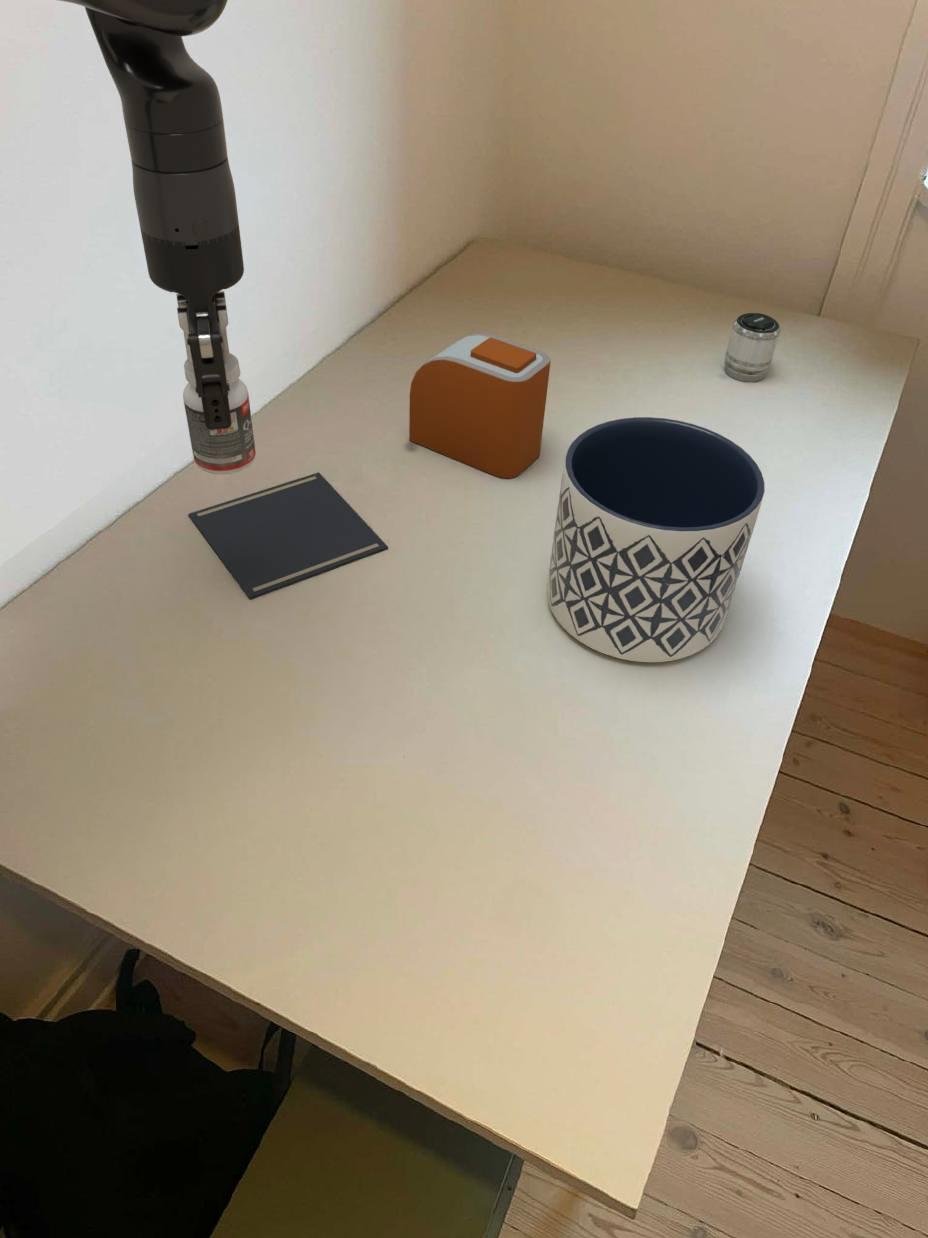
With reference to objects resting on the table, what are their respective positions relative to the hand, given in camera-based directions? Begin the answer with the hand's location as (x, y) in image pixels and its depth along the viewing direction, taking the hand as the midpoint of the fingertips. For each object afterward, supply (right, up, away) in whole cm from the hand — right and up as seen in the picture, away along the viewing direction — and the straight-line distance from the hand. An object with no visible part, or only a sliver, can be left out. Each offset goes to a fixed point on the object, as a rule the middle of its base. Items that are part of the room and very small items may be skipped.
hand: (217, 407), depth 87 cm
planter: (+40, -17, +12) cm, 45 cm away
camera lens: (+62, +16, +49) cm, 80 cm away
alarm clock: (+24, +2, +32) cm, 40 cm away
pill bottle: (0, -4, +4) cm, 6 cm away
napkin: (+3, -9, +18) cm, 21 cm away
